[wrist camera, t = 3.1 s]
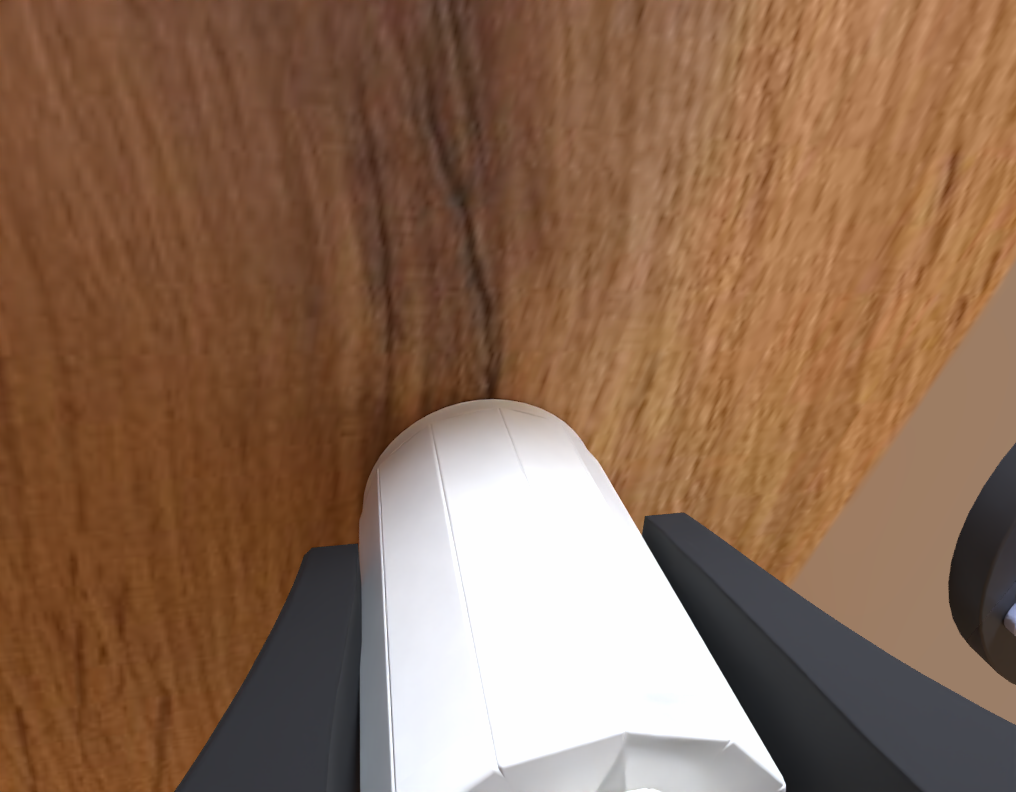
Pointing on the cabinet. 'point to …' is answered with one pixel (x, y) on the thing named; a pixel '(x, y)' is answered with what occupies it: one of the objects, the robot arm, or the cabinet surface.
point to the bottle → (529, 626)
